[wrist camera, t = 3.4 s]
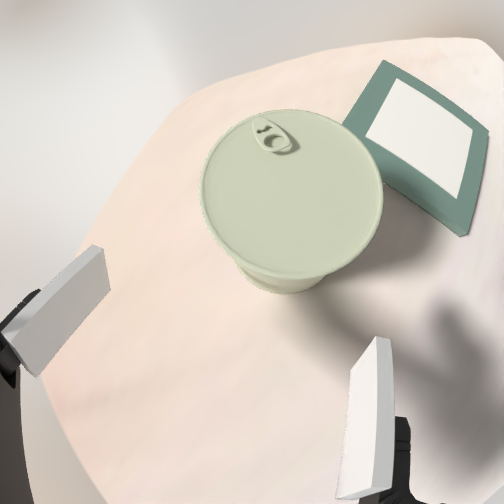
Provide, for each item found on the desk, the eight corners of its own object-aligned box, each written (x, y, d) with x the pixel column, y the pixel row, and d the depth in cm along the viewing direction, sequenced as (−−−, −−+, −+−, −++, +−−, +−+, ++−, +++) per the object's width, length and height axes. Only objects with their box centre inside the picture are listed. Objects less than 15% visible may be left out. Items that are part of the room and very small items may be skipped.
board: (482, 136, 25) (488, 130, 24) (459, 237, 23) (468, 233, 22) (380, 67, 28) (383, 58, 26) (328, 149, 26) (331, 140, 24)
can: (307, 174, 26) (327, 84, 14) (355, 265, 24) (421, 226, 12) (214, 215, 25) (170, 143, 14) (257, 312, 24) (243, 316, 12)
